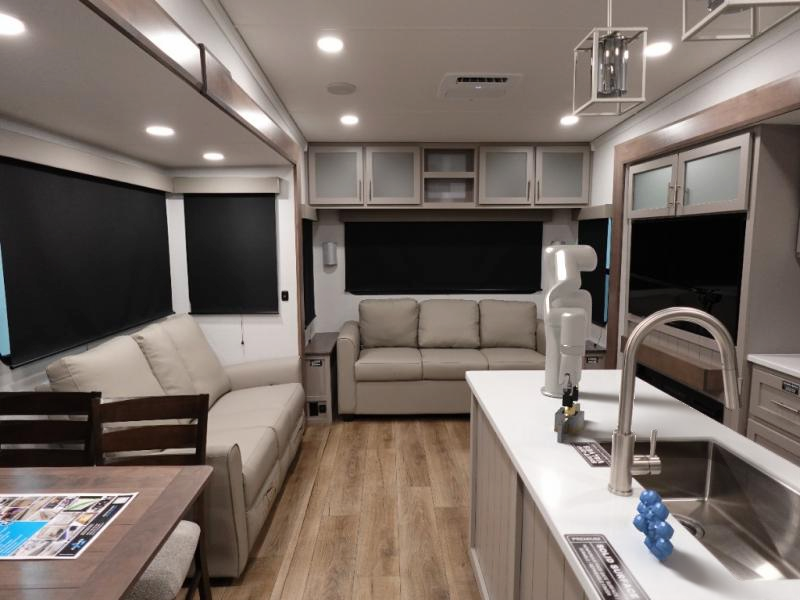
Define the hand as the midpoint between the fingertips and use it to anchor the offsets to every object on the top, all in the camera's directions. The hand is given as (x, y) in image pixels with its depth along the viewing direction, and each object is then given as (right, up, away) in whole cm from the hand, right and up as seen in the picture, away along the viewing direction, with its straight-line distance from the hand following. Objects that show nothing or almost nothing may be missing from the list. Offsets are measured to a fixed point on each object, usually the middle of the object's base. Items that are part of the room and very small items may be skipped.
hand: (570, 403), depth 154 cm
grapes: (-6, -17, -59) cm, 62 cm away
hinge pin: (0, -9, +1) cm, 9 cm away
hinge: (0, -9, +1) cm, 9 cm away
